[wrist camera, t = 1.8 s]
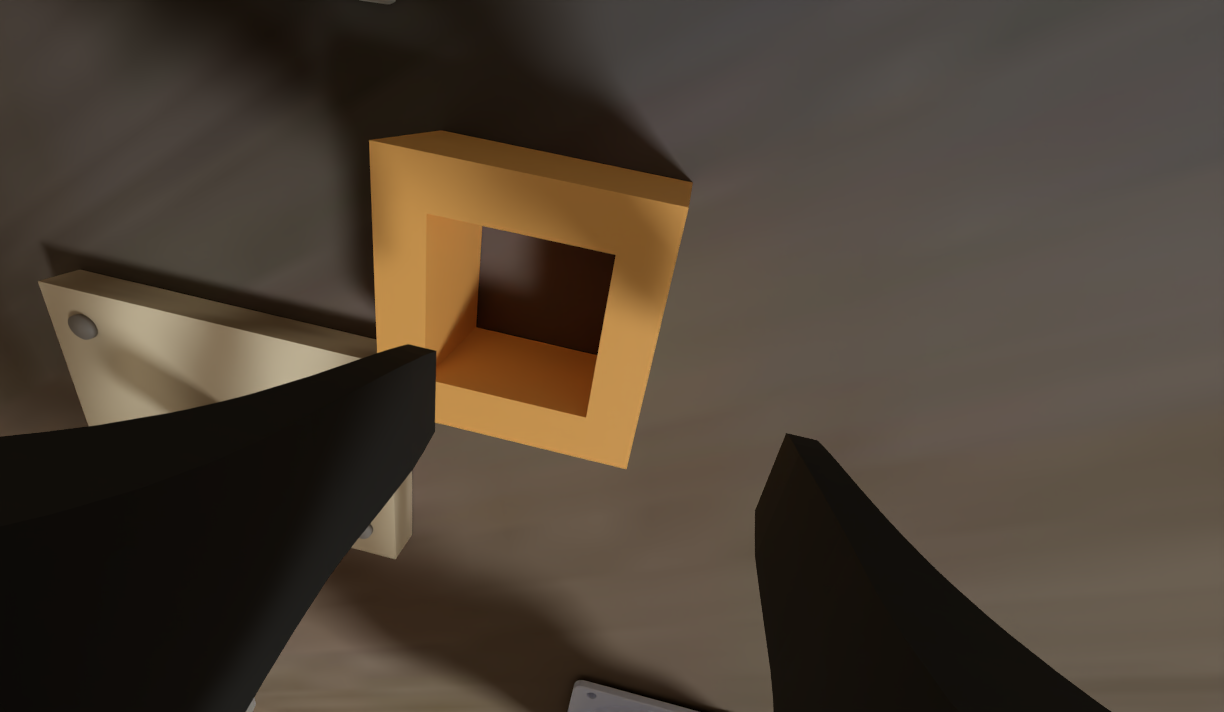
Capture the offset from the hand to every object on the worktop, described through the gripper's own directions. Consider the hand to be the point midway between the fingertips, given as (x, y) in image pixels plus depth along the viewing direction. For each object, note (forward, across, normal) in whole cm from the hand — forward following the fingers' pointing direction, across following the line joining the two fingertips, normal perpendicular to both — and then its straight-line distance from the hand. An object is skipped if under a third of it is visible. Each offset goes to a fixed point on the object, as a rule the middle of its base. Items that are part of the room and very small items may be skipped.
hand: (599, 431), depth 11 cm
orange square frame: (+8, +3, 0) cm, 9 cm away
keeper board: (+8, +15, +9) cm, 19 cm away
